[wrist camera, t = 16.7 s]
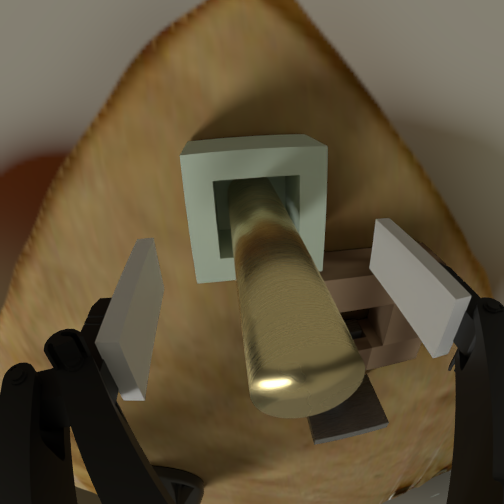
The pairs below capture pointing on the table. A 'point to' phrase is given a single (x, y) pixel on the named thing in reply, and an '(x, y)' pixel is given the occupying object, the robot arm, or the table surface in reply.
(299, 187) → the hollow square block
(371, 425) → the grey t-shaped plug
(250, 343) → the peg
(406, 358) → the socket block
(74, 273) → the table surface
